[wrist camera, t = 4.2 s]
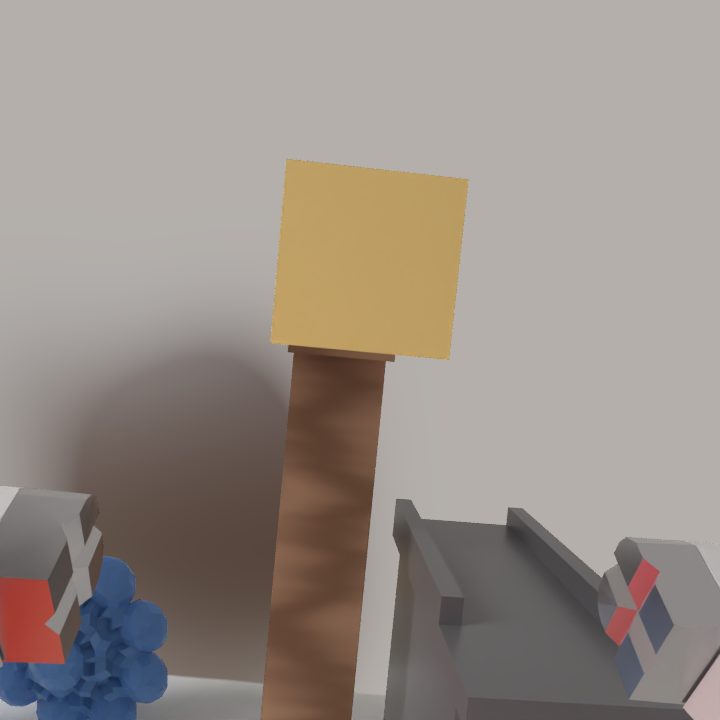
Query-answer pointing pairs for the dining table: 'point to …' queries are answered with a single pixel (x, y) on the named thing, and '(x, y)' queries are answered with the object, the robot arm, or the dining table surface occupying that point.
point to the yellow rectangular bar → (368, 259)
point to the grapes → (98, 658)
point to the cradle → (500, 628)
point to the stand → (323, 533)
